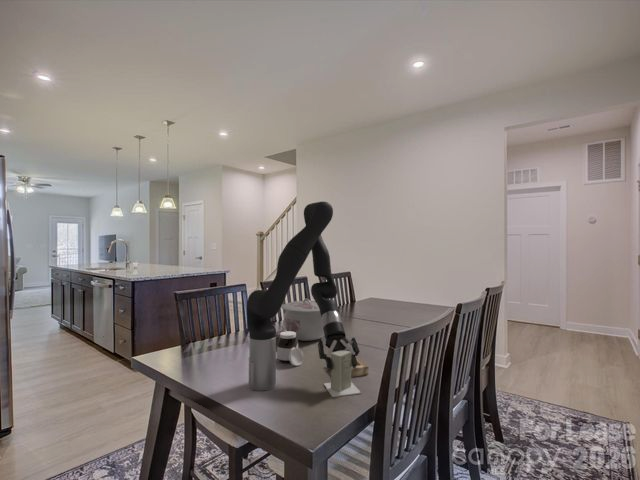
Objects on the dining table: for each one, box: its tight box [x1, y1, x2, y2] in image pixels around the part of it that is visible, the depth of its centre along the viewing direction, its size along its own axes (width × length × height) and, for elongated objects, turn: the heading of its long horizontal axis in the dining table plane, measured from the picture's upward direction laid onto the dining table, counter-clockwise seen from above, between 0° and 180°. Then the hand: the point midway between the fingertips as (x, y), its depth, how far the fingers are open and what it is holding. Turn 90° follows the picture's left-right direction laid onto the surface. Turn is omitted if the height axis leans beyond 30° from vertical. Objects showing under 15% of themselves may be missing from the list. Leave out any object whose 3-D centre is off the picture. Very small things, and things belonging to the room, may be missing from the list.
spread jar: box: [276, 330, 304, 367], centre depth 139 cm, size 12×11×12 cm
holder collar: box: [351, 355, 369, 378], centre depth 130 cm, size 12×12×3 cm
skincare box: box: [330, 350, 352, 392], centre depth 114 cm, size 6×4×12 cm
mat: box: [323, 381, 362, 398], centre depth 114 cm, size 10×10×1 cm
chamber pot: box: [280, 298, 325, 342], centre depth 175 cm, size 28×28×21 cm
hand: (343, 368), depth 112 cm, fingers open, 8 cm apart
